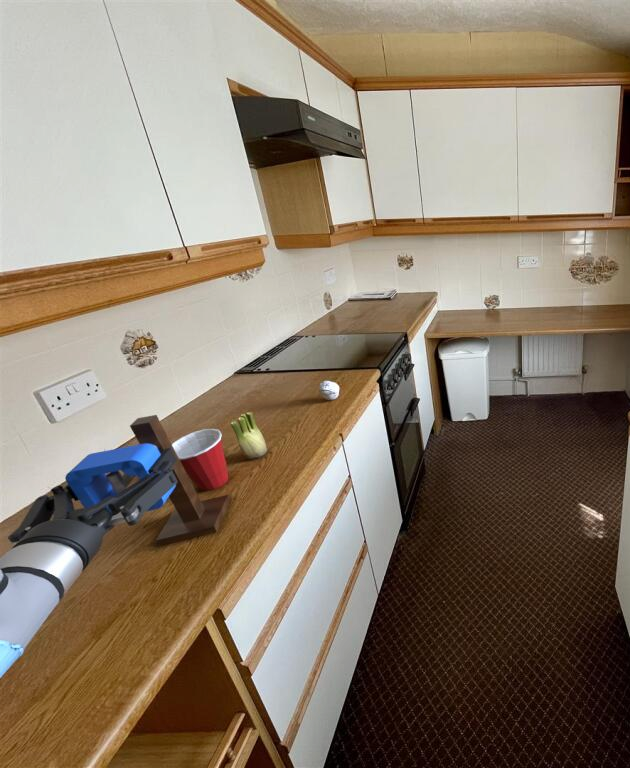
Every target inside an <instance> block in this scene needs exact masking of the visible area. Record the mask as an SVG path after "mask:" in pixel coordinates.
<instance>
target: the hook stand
mask: <svg viewBox="0 0 630 768" xmlns="http://www.w3.org/2000/svg"><path fill="white" fill-rule="evenodd" d="M129 428H130V429H131V431H132V433H133V435H134V436H135V438H136V440H137V442H138V443H139V444H145V443H147V444H152V445H154V446H155V447H156V448H157V449H158V451H159V452H160V454H162V452H163V451H164V450H165V449H167V448H170V449H171V450H172V452H173V454H174V456H175V458H176V460H177V461H176V462H175V464H174V465H173V467H174V469H173V470H172V471H173V473H174V475H175V477H176V479H177V481H178V483H177V484H176V486H175V488H174V489H173V491H172V492H171V494H170V495H169V497H168V499H169V500H170V501H171V503H172V505H173V507H174V509H173V512H172V513H171V515H170V516H169V518H168V520H167V521H166V522H165V524H164V525H163V528H162V529H161V531H160V533H159V534H158V536H157V538H156V539H155V542H156V544H157V545H158V546H159V547H160V546H164V545H168V544H172V543H177V542H180V541H184V540H189V539H193V538H196V537H202V536H205V535H209V534H212V533H216V532H218V530H219V528H220V525H221V523H222V521H223V518H224V516H225V514H226V512H227V509H228V508H229V505H230V503H231V497H230V495H229V494H226V495H222V496H221V495H220V496H218V497H213V498H209V499H204V500H201V499H200V497H199V495H198V493H197V491H196V488H195V487H194V485H193V483H192V480H191V479H190V477H189V476H188V475H187V473H186V471H185V469H184V467H183V466H182V464H181V462H180V460H179V458H178V456H177V454H176V452H175V450H174V448H173V446H172V442H171V439H169V436H168V435H167V433H166V431H165V428H164V427H163V424H162V423H161V421H160V419H159V417H158V415H157V414H153V415H148V416H142V417H141V416H140V417H137V418H136V419H135V420H134V421H133V422H132V423H131V424H130V425H129ZM139 444H138V445H139ZM105 475H106V477H107V479H108V481H109V482H110V484H111V486H112V489H113V490H114V491H116V492H122V491H123V490H125V489H126V488H128V487H129V486H130V484H131V483H132V481H134V479H135V478H136V476H130V475H127V474H125V473H123V474H121V472H120V471H115V472H110V473H106V474H105Z"/></svg>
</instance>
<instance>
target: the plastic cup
mask: <svg viewBox="0 0 630 768" xmlns="http://www.w3.org/2000/svg"><path fill="white" fill-rule="evenodd" d="M222 436H223V433H222V432H221V431H220V429H217V428H204V429H200V430H197V431H193V432H191V433H187V434H186V435H183V436H181V437H179V438H178V439H176V440H175V441H173V442H171V444H172V446H173V448H174V450H175V452H176V454H177V456H178V458H179V460H180V462H181V464H182V466H183V467H184V469H185V471H186V473H187V475H188V477H189V479H190V481H193V483H194V484H195V485H196V486H197V487H198V489H199V490H201V491H204V492H207V491H213V490H216V489H218V488H221V487H222V486H223V485H225V484H226V483H227V482H228V479H229V474H228V468H227V461H226V458H225V453H224V449H223V443H222V442H223V441H222Z"/></svg>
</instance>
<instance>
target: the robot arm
mask: <svg viewBox="0 0 630 768" xmlns="http://www.w3.org/2000/svg"><path fill="white" fill-rule="evenodd" d="M176 461H177V460H176V458H175V456H174V454H173V452H172V450H171V449H170V448H167V449H165V450H164V451H163V452H162V454H161V455H160V456H159V457H158V459H157V460H156V461H155V462H154V464H153V465H152V466H151V467H150V469H149V470H148V472H149V474H148V475H147V476H145V477H143V478H142V479H140V480H139V479H138V480H137V481H135V482H134V483H132V484H131V485H128V486H127V487H126V489H125V490H123V491H122V492H120V493H118V494H117V495H115V496H114V497H107V498H105V499H103V500H101V501H100V502H98V503H97V504H95V505H94V506H91V507H88V508H84V507H83V508H77V509H75V507H74V502H77V501H78V502H79V499H78V498H77V496H76V495H75V493H74V492H73V490H72V489H71V487H70V486H69V484H68V483H67V485H65V487H64V486H62V485H56V486H54V487H52V488H50V492H51V493H52V495H50V496H48V494H44V495H40V496H38V497H37V498H36V499H35V500H34V502H33V503H32V505H31V507H30V508H29V510H28V511H27V513H26V515H25V517H24V518H23V520H22V522H21V523H20V525H19V527H18V528H16V529H15V530H14V531H13V532H12V533H10V534H9V535H8V536H7V540H9V542H10V543H11V544H12V545H13V546H12V548H11V549H9V550H8V551H7V552H6V553H4V554H3V555H2V556H1V557H0V679H1V678H2V677H3V676H4V675H5V673H6V672H7V671H8V670H9V669H10V668H11V667H12V665H13V664H14V663H15V662H16V661H17V660H19V659H20V658H21V656H22V655H23V654H24V651H25V649H26V648H27V646H28V645H29V644H30V642H31V641H32V639H33V638H34V636H35V635H36V634H37V633H38V631H39V630H40V628H41V627H42V626H43V624H44V623H45V621H46V620H47V619H48V617H49V616H50V615H51V614H52V612H53V611H54V609H55V608H56V607H57V606H58V604H60V602H61V600H62V599H63V598H64V596H65V595H66V594H67V592H68V591H69V590H70V589H71V588H72V586H73V585H74V583H75V582H76V581H77V580H78V578H79V577H80V576H81V574H82V572H83V571H84V570H86V569H87V567H88V566H89V565H90V563H91V562H92V560H93V559H94V558H95V556H97V554H98V553H99V551H100V549H101V547H102V543H103V539H104V536H105V534H107V533H108V532H110V531H111V530H112V529H113V528H114V527H115V526H116V525H119V524H123V523H127V525H128V526H129V527H132V526H135V525H136V524H138V523H139V522H140V520H141V519H142V518H143V515H144V514H146V513H147V512H148V511H147V510H148V509H149V508H150V507H152V506H153V505H154V504H155V503H156V502H157V501H158V500H159V499H160V498H161V497H162V496H164V495H165V494H166V493H167V492H168V491H169V490H170V489H171V488H172V487H173V486H175V485H176V484H177V483H178V481H177V479H176V477H175V475H174V473H173V471H172V470H173V469H174V467H173V465H174V464H175V462H176ZM73 501H74V502H73ZM107 505H108V507H109V509H110V510H111V512H112V515H111V514H110V512H109V511H108V509H107V508H106V506H107Z"/></svg>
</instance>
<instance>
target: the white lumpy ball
mask: <svg viewBox="0 0 630 768" xmlns="http://www.w3.org/2000/svg"><path fill="white" fill-rule="evenodd" d="M318 393H319V395H321V396H322V397H323V398H324V399H325V400H327V401H333V400H336V399H337V398H338V397H339V394H340V386H339V385H338V383H337V382H335V381H331V380H324V381H322V382H320V383H319V387H318Z"/></svg>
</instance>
